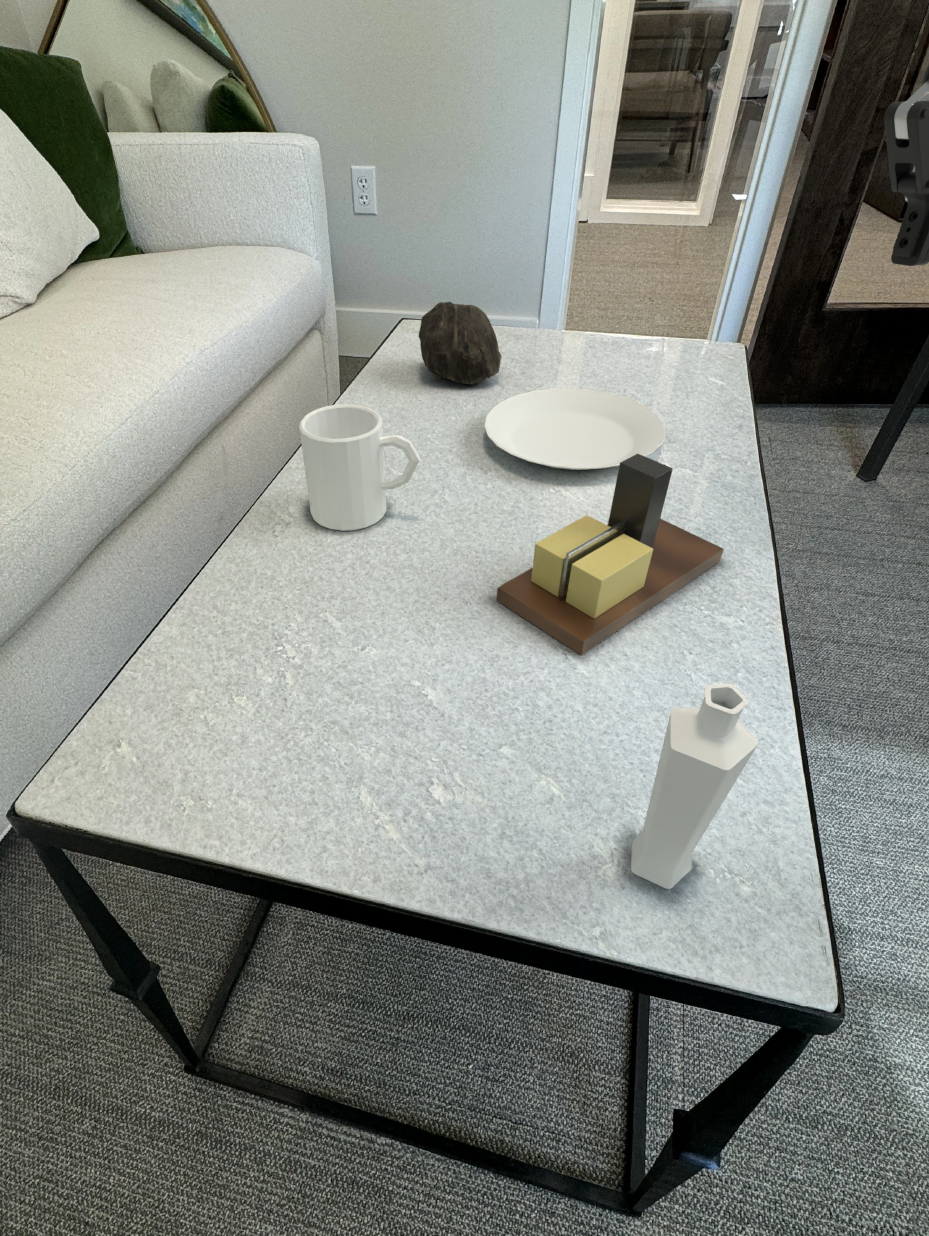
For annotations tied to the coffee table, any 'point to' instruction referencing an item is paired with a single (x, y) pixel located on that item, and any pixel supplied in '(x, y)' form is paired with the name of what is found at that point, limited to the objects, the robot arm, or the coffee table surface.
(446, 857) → the coffee table surface
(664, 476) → the knife
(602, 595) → the butter
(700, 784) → the white faceted vase
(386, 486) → the mug
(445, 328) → the rock
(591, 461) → the plate
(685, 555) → the slicer board
